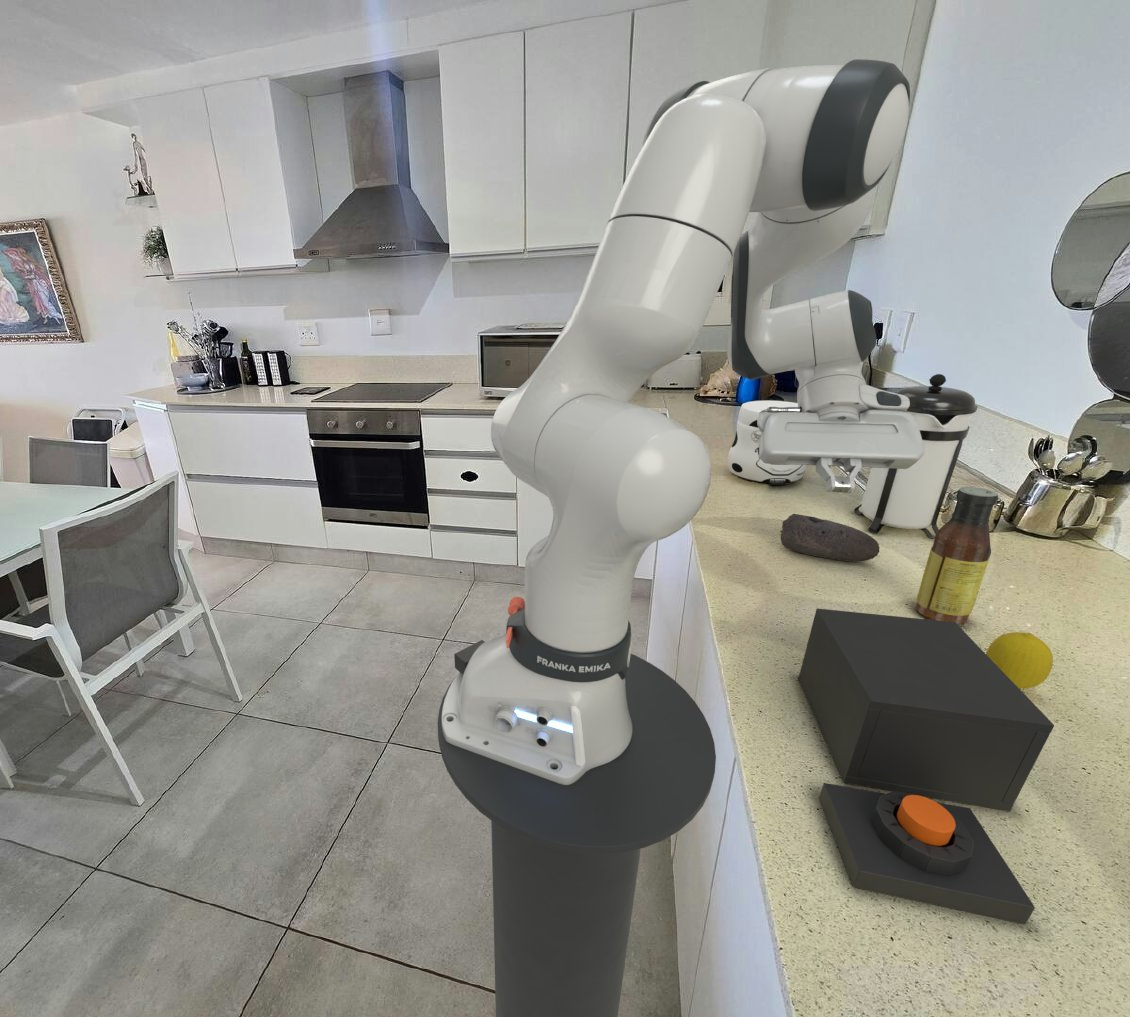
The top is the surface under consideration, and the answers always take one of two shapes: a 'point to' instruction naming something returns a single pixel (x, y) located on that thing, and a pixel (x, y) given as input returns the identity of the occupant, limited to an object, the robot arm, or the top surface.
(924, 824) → the button
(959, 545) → the sauce bottle
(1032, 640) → the lemon
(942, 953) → the top surface
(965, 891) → the control block
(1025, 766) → the charcoal drawer unit
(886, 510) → the coffee press
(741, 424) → the doce de leite jar
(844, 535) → the perforated stone tool
